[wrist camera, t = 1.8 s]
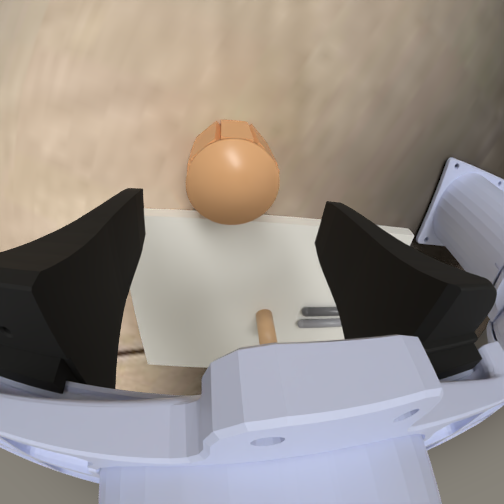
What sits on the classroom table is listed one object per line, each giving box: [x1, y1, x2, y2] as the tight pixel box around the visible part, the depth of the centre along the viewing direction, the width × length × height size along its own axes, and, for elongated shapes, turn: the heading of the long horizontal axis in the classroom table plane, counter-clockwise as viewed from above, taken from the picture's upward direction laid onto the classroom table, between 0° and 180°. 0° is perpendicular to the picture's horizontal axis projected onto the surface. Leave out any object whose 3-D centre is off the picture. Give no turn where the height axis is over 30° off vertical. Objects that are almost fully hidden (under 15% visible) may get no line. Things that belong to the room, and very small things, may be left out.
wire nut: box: [186, 120, 280, 225], centre depth 15 cm, size 4×4×4 cm
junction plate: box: [130, 208, 414, 368], centre depth 24 cm, size 22×18×4 cm
